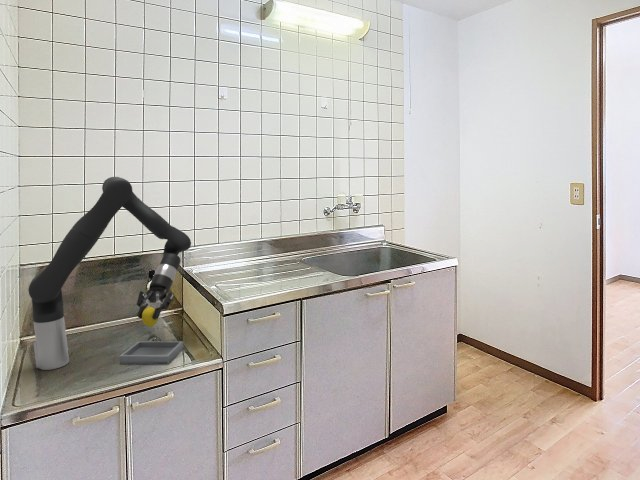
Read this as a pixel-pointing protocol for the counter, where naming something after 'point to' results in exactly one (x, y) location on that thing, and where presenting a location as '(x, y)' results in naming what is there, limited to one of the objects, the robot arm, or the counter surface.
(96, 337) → the counter surface
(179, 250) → the robot arm
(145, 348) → the tray
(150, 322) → the lemon
